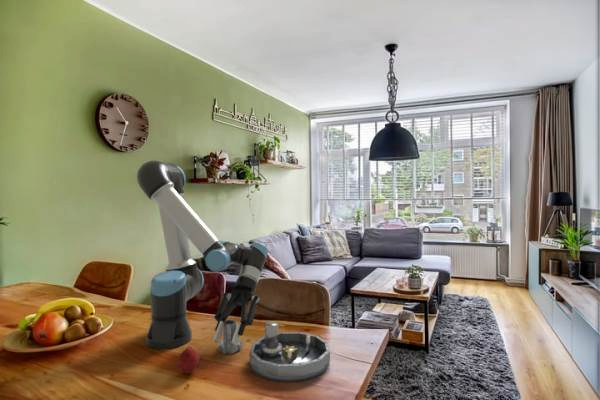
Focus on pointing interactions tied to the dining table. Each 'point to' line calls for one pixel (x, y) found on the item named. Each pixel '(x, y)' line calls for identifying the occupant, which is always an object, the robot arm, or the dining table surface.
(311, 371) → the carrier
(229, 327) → the planet gear
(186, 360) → the onion
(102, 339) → the dining table surface
